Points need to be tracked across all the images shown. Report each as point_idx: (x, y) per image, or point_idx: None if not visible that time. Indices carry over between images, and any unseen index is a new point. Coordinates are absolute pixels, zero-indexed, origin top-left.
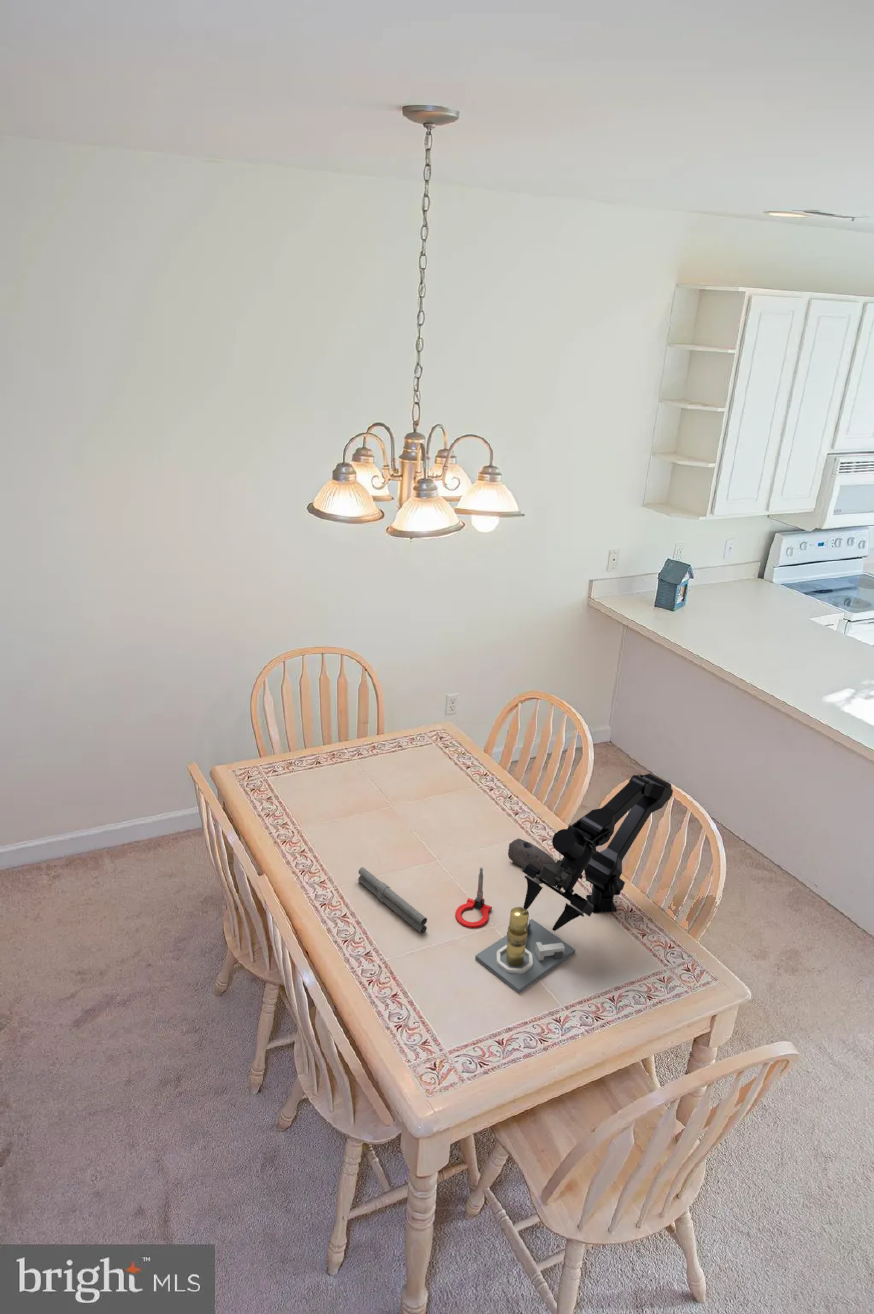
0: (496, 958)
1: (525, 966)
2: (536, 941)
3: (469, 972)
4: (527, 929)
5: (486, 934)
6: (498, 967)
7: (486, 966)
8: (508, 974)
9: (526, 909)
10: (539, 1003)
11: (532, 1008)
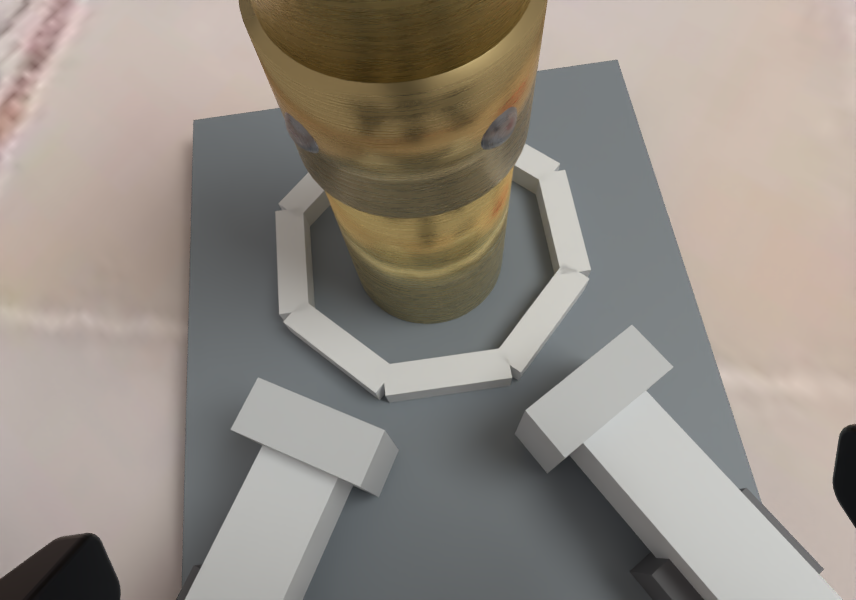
0: None
1: (298, 251)
2: (512, 580)
3: None
4: (302, 73)
5: (820, 283)
6: None
7: None
8: None
9: (853, 505)
10: (62, 201)
11: (70, 145)
